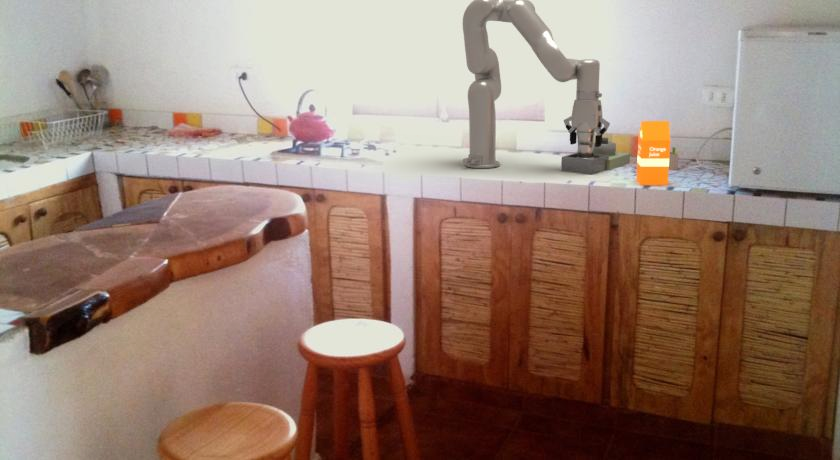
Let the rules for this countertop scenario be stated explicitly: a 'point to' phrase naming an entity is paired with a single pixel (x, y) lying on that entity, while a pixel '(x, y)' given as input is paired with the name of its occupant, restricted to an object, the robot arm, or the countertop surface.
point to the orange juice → (653, 153)
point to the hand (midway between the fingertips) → (585, 145)
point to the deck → (618, 160)
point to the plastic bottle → (585, 141)
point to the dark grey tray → (584, 164)
